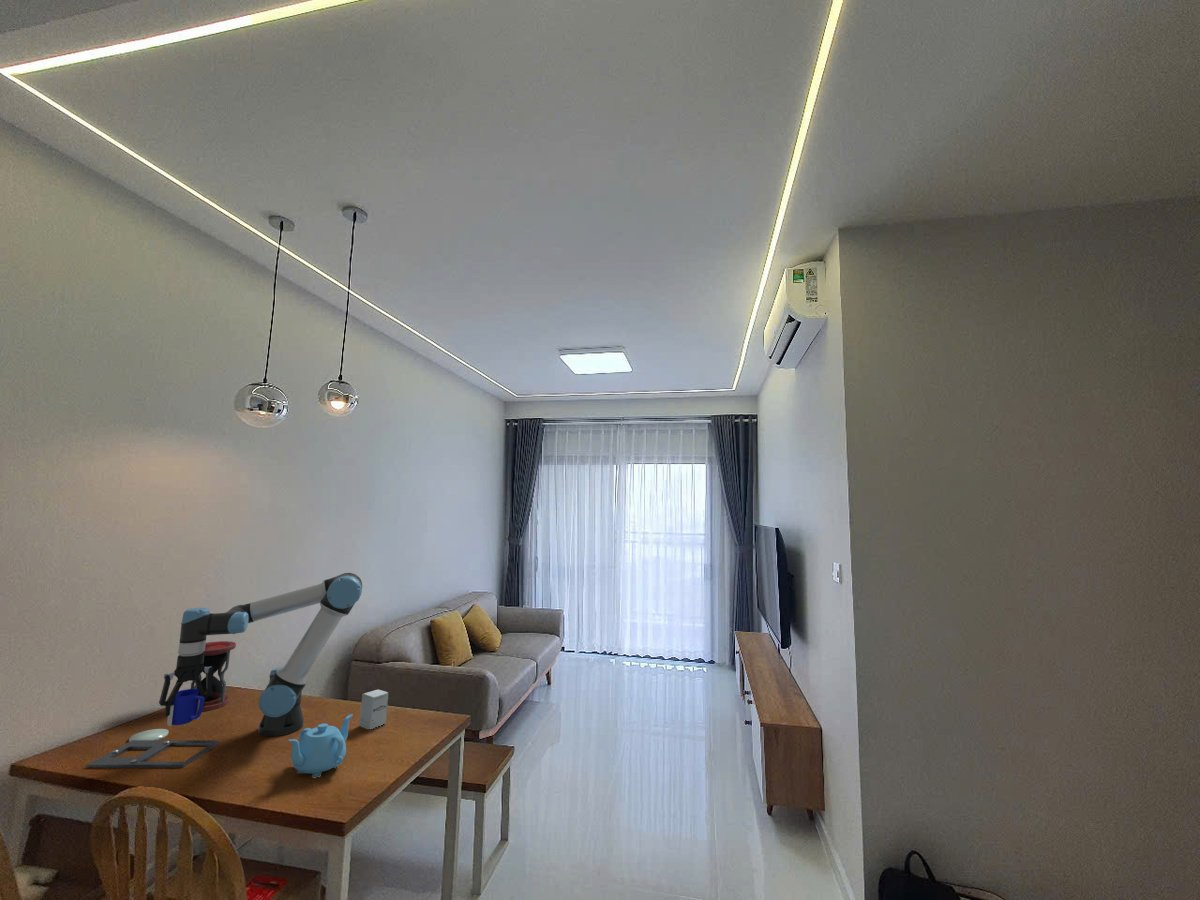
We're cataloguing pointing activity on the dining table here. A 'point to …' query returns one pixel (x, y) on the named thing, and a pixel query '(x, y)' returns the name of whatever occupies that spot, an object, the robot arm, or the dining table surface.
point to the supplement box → (373, 709)
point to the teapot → (320, 748)
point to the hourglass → (215, 658)
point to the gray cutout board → (149, 754)
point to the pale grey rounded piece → (150, 735)
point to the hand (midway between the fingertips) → (183, 721)
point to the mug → (186, 706)
